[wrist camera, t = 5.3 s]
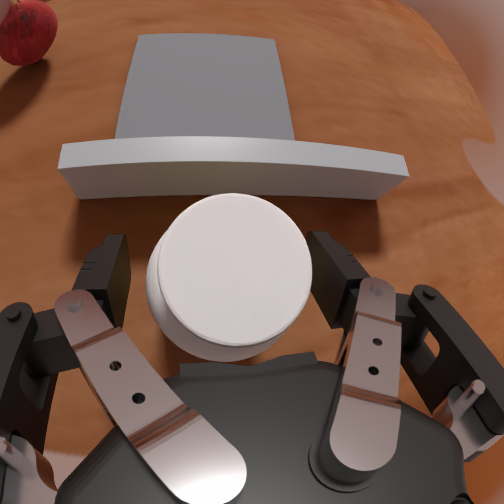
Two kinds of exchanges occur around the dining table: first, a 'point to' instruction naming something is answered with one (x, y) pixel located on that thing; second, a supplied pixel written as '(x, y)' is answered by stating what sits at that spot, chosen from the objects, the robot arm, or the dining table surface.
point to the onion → (27, 32)
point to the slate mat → (204, 88)
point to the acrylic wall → (227, 168)
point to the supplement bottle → (228, 277)
